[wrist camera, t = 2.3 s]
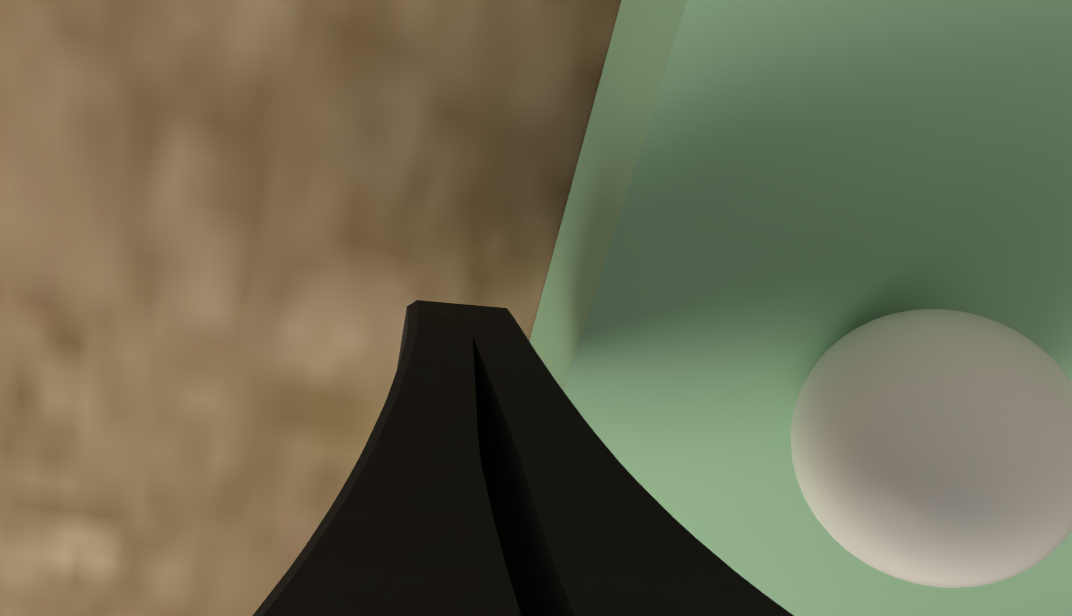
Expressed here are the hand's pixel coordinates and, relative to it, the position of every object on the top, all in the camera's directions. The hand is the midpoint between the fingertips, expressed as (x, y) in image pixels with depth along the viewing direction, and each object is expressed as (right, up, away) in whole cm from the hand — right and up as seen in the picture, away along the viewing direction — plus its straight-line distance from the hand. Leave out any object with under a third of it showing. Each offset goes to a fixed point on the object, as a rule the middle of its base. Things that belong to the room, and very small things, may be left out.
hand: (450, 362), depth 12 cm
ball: (+7, -1, +1) cm, 7 cm away
